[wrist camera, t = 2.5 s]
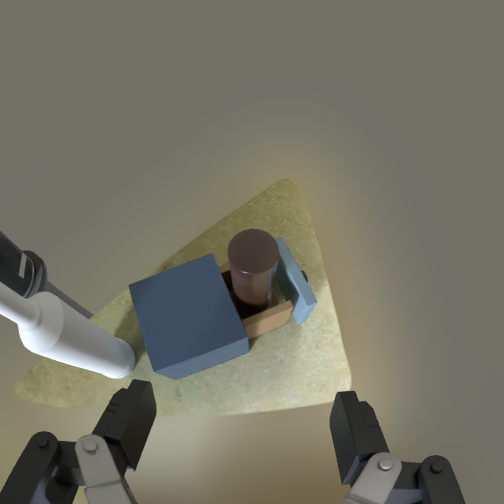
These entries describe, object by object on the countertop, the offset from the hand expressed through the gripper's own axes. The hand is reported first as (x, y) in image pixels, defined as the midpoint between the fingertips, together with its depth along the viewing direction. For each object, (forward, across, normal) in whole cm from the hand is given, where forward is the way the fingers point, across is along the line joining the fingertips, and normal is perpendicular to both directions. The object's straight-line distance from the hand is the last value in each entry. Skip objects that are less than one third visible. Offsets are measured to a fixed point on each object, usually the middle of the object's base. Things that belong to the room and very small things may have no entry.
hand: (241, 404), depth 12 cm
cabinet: (+22, +6, +10) cm, 25 cm away
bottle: (+18, +16, +13) cm, 28 cm away
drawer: (+24, -1, +6) cm, 25 cm away
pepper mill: (+22, 0, +6) cm, 23 cm away
